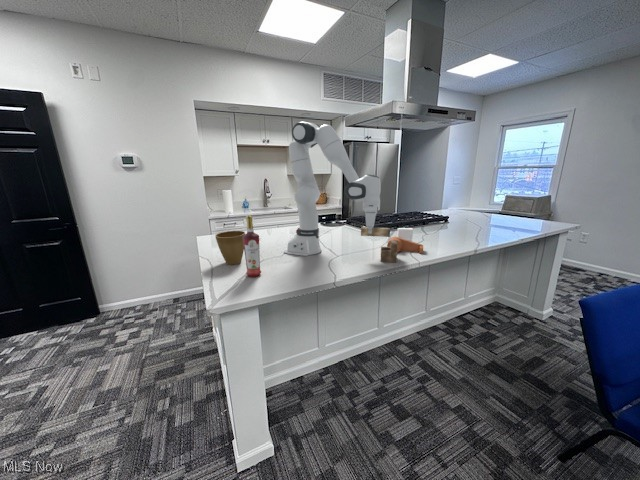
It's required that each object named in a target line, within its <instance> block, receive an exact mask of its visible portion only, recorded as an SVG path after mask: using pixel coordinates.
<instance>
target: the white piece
mask: <svg viewBox="0 0 640 480" xmlns="http://www.w3.org/2000/svg"><path fill="white" fill-rule="evenodd" d="M413 233H414V228H412V227H397V236H396V237H399V238H402V239H405V240H409V241H412V242H413V235H414V234H413Z"/></svg>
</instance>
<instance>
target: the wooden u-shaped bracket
mask: <svg viewBox="0 0 640 480" xmlns="http://www.w3.org/2000/svg"><path fill="white" fill-rule="evenodd" d="M397 254H398V252H397V240H391V247H387V246H380V262H381V263H382V262H383V263H395V264H396V263H397V259H398V258H397V256H398V255H397Z"/></svg>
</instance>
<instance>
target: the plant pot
mask: <svg viewBox="0 0 640 480" xmlns="http://www.w3.org/2000/svg"><path fill="white" fill-rule="evenodd" d="M245 234H246V232H245V231H243V230H230V231H229V230H228V231H222V232H219V233H216V234H215V241H216V242H217V245H218V249H219V251H220V254H221V256H222V258H223V260H224V262H225V263H226V264H227V265H229V266H232V265H233V266H234V265H238V264H241V263H242V260H243V257H244V253H245V252H244V245H243V238H242V237H243V236H244V235H245Z"/></svg>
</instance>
